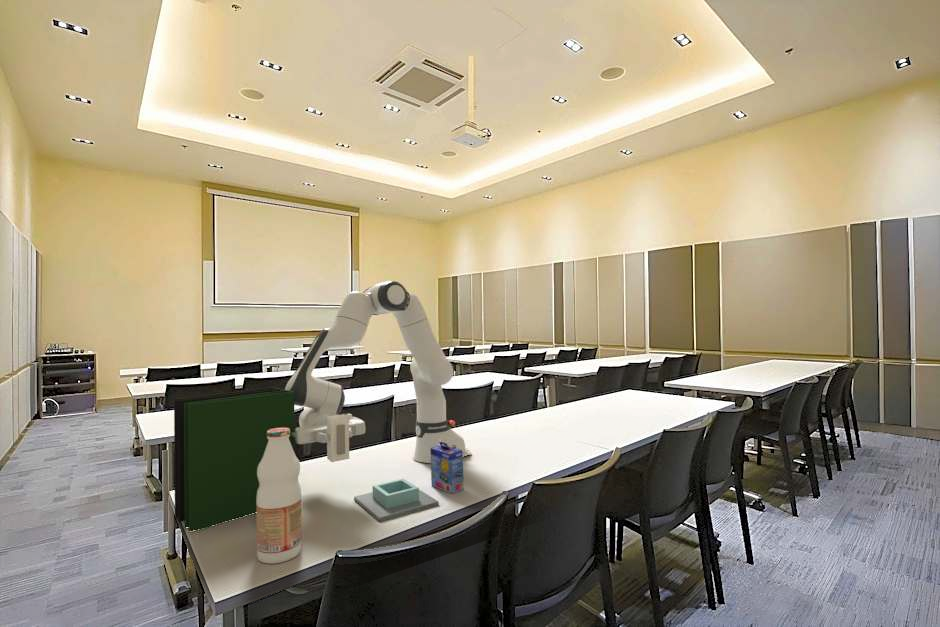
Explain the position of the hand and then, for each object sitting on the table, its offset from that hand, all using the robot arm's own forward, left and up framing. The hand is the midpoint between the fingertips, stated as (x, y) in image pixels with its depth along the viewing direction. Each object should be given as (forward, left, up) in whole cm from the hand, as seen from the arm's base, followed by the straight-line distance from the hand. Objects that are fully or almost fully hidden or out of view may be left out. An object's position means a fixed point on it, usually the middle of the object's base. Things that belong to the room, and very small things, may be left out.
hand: (339, 436), depth 131 cm
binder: (+24, -16, -20) cm, 35 cm away
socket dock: (-14, +7, -20) cm, 25 cm away
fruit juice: (+20, +18, -20) cm, 34 cm away
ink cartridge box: (-32, +6, -20) cm, 38 cm away
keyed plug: (0, -1, -6) cm, 7 cm away
